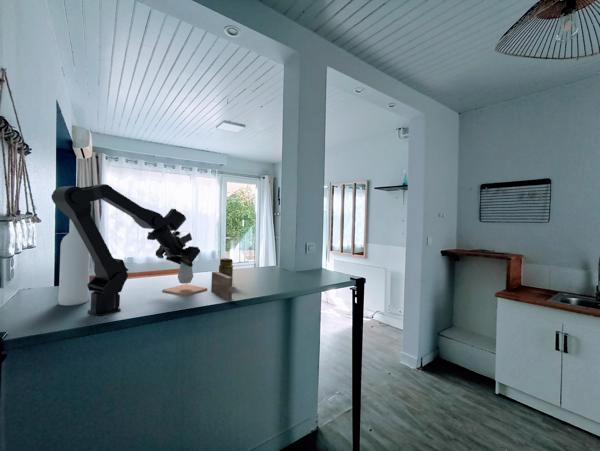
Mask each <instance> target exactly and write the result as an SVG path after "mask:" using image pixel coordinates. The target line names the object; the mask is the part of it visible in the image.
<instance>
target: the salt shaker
mask: <svg viewBox="0 0 600 451" xmlns="http://www.w3.org/2000/svg"><path fill="white" fill-rule="evenodd" d="M179 265H180V264H179ZM193 278H194V273H193V266H192V267H190V266H187V265H185V264H183V263H181V265H180V266H179V269H178V273H177V280H178V282H179V284H191V283H192V280H193Z"/></svg>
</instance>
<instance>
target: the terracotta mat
mask: <svg viewBox="0 0 600 451" xmlns="http://www.w3.org/2000/svg"><path fill="white" fill-rule="evenodd" d="M161 291H162V293H166V294H171V295H175V296H180V297H187V296H191V295H194V294H198V293H201V292H205V291H208V288H207V287H202V286H200V285H199V286H198V285H194V284H189V283H184V284H181V285H177V286H173V287H168V288H164V289H162V290H161Z"/></svg>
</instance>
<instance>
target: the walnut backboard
mask: <svg viewBox="0 0 600 451" xmlns="http://www.w3.org/2000/svg"><path fill="white" fill-rule="evenodd" d="M233 279H234V277H233V276H232V277H230V276H227V275H224V274H222V273H219V271H211V287H210V288H211V289H210V292H212V293H214V294H215V295H218V296H220V297H221V298H223V299H225V300H232V299H233V297H232V296H233V288H232V284H233Z"/></svg>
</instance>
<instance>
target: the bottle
mask: <svg viewBox="0 0 600 451" xmlns="http://www.w3.org/2000/svg"><path fill="white" fill-rule="evenodd" d="M68 225H69V231H68V232H69V233H67V234H66V235H65V236H63V237H62V240H61V242H60V250H59V251H60V252H59V253H60V254H59V277H58V278H59V281H58V282H59V283H58V285H59V286H58V296H57V299H58V304H59V305H60V306H66V307H69V306H78V305H81V304H82V305H83V304H85V303H86V304H87V302H88V301H89V296H90V291H89V289H88V287H87V284H88V283H89V282H90V269H91V268H90V267H91V266H90V264H91V263H90V262H91V255H90V253H89V251H88V249H87V247H86V246H85V244H84V242H83V240H82V238H81V237H80V235H79V233H78V231H77V229H76V227H75V226H74V224H73V222H72V220H71V219H70V218H69V224H68Z"/></svg>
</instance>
